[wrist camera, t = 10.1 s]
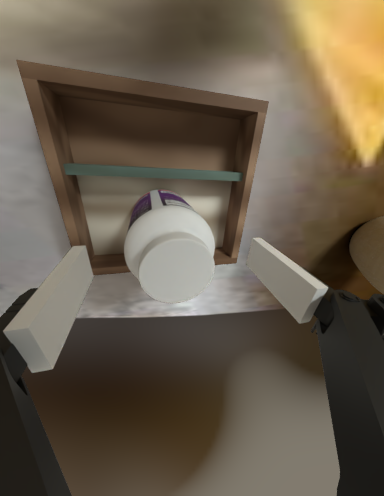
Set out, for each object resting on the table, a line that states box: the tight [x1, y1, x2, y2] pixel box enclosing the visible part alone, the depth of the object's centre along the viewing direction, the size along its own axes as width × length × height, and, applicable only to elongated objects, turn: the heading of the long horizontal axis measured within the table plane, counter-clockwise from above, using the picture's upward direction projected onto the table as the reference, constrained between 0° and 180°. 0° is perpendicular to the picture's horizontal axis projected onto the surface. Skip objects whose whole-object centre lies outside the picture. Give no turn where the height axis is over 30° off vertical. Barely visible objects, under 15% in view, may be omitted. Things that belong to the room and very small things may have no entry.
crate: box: [16, 60, 269, 275], centre depth 22 cm, size 20×22×4 cm
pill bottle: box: [124, 189, 215, 303], centre depth 18 cm, size 8×8×14 cm
